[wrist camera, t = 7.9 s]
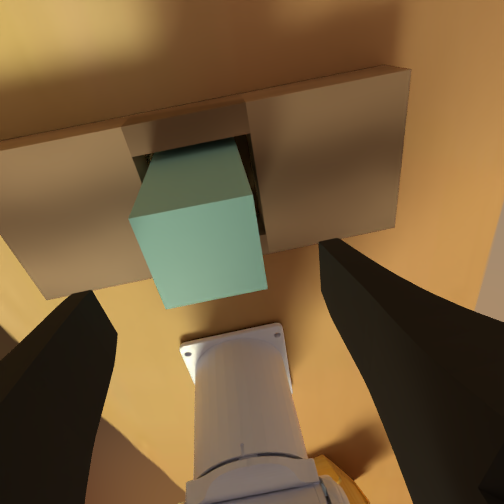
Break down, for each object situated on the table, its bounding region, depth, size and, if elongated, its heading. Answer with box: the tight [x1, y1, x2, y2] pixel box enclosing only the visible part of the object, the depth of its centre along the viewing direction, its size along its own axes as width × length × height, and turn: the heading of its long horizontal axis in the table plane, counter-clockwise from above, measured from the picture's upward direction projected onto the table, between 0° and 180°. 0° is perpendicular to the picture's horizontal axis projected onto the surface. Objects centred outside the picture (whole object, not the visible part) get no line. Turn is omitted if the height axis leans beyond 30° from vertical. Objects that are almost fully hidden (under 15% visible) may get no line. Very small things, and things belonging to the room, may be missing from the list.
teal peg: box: [128, 137, 268, 309], centre depth 15 cm, size 4×4×8 cm
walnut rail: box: [0, 65, 411, 300], centre depth 17 cm, size 8×20×2 cm, turn 99°
